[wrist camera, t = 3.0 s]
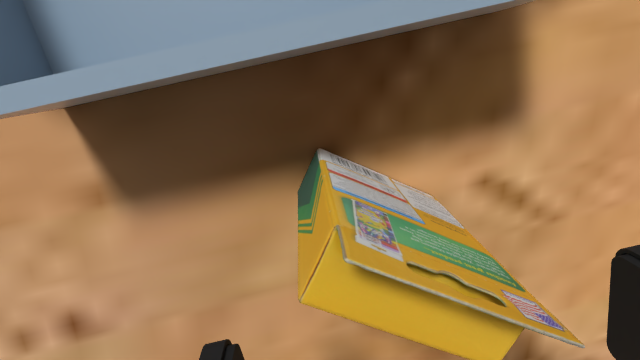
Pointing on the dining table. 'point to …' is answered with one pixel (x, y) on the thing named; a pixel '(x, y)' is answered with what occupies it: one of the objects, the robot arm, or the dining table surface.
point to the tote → (182, 40)
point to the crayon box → (406, 265)
